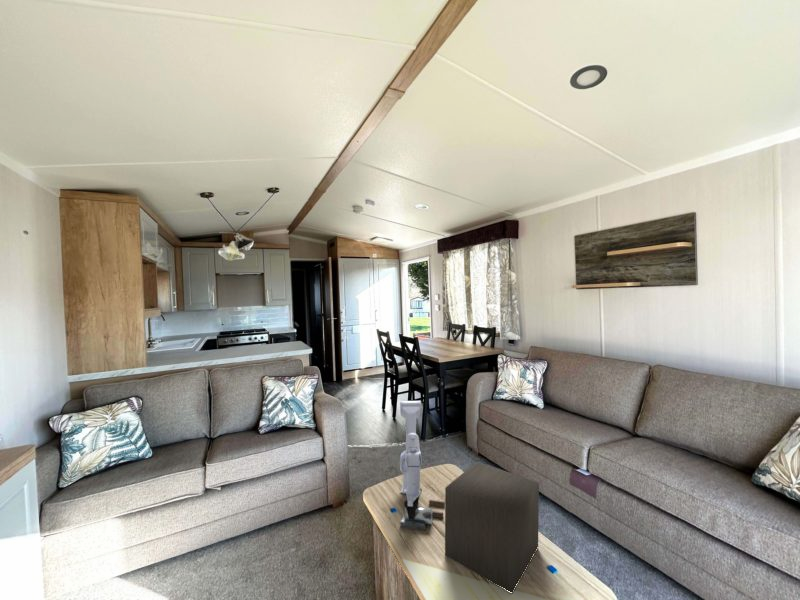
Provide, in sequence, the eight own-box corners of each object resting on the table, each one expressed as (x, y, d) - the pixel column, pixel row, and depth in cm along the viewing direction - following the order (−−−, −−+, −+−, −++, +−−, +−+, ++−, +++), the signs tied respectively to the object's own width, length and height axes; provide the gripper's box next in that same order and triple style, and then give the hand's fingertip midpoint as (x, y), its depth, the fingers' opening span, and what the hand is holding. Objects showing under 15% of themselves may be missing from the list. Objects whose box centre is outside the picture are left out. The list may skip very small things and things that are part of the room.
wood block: (477, 519, 143) (477, 461, 142) (538, 548, 127) (538, 482, 126) (445, 555, 124) (445, 487, 123) (512, 594, 107) (512, 517, 107)
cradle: (404, 513, 147) (404, 508, 147) (427, 516, 145) (427, 511, 145) (400, 527, 138) (400, 521, 138) (424, 530, 136) (424, 525, 136)
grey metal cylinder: (404, 523, 139) (404, 510, 139) (406, 515, 145) (407, 502, 145) (431, 527, 137) (431, 514, 137) (432, 518, 142) (432, 505, 142)
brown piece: (429, 503, 153) (429, 499, 153) (444, 505, 152) (444, 501, 152) (426, 515, 145) (426, 511, 145) (443, 518, 144) (443, 513, 144)
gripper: (407, 470, 149) (407, 501, 149) (400, 489, 135) (400, 522, 135) (423, 472, 148) (423, 503, 148) (417, 491, 133) (417, 525, 134)
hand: (413, 512), depth 141 cm, fingers open, 7 cm apart
